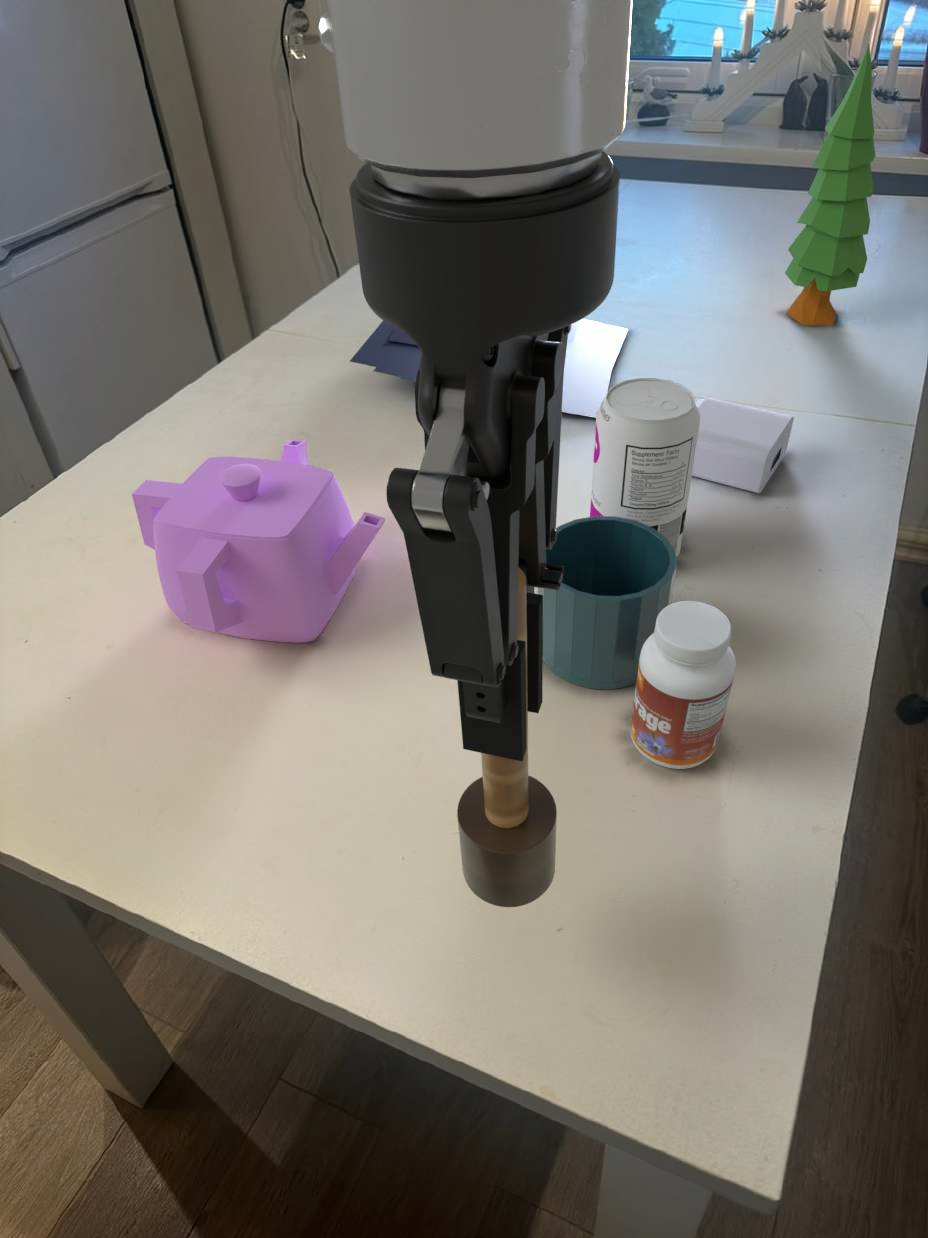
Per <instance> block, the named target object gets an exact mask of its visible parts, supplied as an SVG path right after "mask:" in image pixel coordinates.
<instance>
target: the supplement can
mask: <svg viewBox="0 0 928 1238" xmlns="http://www.w3.org/2000/svg"><path fill="white" fill-rule="evenodd" d="M695 402H696V397H695V396H694V393H693V392H692V390H690V389H689V388H687V387H686V386H684V385H683V384H681V383H678V382H674V381H672V380H670V379H664V378H657V377H635V378H631V379H625V380H622V381H621V382H618V383H616V384H613V385H612V386H611V387H610V388H608V391H607V394H606V397H605V398H604V400H603V401H602V403H601V404H600V406H599V408H598V411H597V415H596V418H595V428H594V430H595V431H594V446H593V459H592V460H593V461H592V478H591V490H590V491H591V492H590V508H589V517H593V516H615V517H620V518H625V519H630V520H635V521H638V522H640V523H642V524H645V525H647V526H650V527H652V528H654V529H655V530H657V531H658V532H659V533H661V534H662V535H663V536H664V537H666V538H667V539H668V541H669V542H670V544H671V545H672V547H673V548H674V550H675V552H676V558H677V557H678V556H679V555H680V554H681V549H682V548H681V547H682V541H683V535H684V529H685V523H686V515H687V510H688V503H689V495H690V489H691V482H692V477H693V476H692V470H693V464H694V457H695V451H696V444H697V438H698V431H699V425H700V416H701V415H700V413H699V411H698V408H697V406H696V404H695Z"/></svg>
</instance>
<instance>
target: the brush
mask: <svg viewBox="0 0 928 1238" xmlns="http://www.w3.org/2000/svg"><path fill="white" fill-rule="evenodd" d="M517 640H521V641H526V736H527V749H526V752H525V755H524V758H523V761H517V760H513V759H508V758H503V757H499V756H494V755H489V754H484V753H480V758H481V770H482V771H481V772H482V773H481V774H482V776H481V777H479V778H477V779H476V780H474V781H473V782H472V783H470V784H469V786H467V788H466V789H465V790H464V791H463V793H462V794H461V796H460V798H459V800H458V804H457V813H456V816H457V825H458V827H457V828H458V835H459V836H458V837H459V846H460V856H461V865H462V873H463V878H464V880H465V883H466V884H467V887H468V888H469V889H470V890H471V892H472V893H473V894H474V895H475V896H477V897H478V898H479V899H480V900H482V901H484V902H486V903H488V904H490V905H492V906H496V907H500V908H517V907H522V906H525V905H528V904H530V903H533V902H535V901H536V900H538V899H539V898H540V897H541V896H544V894H545V893H546V892H547V890H548V889H549V888H550V886H551V885H552V883H553V881H554V877H555V873H556V851H557V850H556V849H557V848H556V847H557V813H558V812H557V811H558V809H557V805H556V800H555V799H554V796H553V795H552V793H551V791H550V790H549V789H548V787H547V786H546V785H545V784H544V783H542V782H541V781H540V780H539V779H537V778H535V777H534V776H531V775H530V774H529V712H528V685H527V580H526V575H525V574H524V572H523V571H522V570H521V569H520V568H519V567H518V616H517Z"/></svg>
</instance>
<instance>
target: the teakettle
mask: <svg viewBox="0 0 928 1238" xmlns="http://www.w3.org/2000/svg"><path fill="white" fill-rule="evenodd" d="M131 498H132V501H133V505H134V509H135V513H136V516H137V521H138V525H139V529H140V533H141V536H142V540H143V544H144V545H145V546H147V547H148V548H150V549H152V550H154V553H155V561H156V566H157V567H156V568H157V573H158V577H159V582H160V586H161V590H162V594H163V596H164V599H165V603H166V604H167V606H168V608H170V610H171V611H172V613H173V614H174V615H175V617H177V619H179V620H180V621H181V622H182V623H183V624H184V623H185V625H188V626H190V629H195V630H200V631H206V632H211V633H216V634H217V633H218V634H221V635H225V636H230V637H235V638H242V639H249V640H257V641H267V642H278V643H296V644H299V643H300V644H301V643H302V644H303V643H310V642H313V641H315V640H316V639H317V638H319V636H320V635H321V633H322V632H323V630H324V629H325V628H326V626H327V625H328V623H329V621H330V620H331V619H332V617H333V615H334V613H335V612H336V610H337V609H338V607H339V605H340V603H341V602H342V600H343V598H344V596H345V595H346V593H347V591H348V589H349V587H350V585H351V583H352V581H353V579H354V577H355V574H356V572H357V568H358V563H359V562H360V561H361V559H362V557H363V556H364V555H365V553H366V552H367V550H368V548H369V547H370V545H371V544H372V542H373V541H374V540H375V538H376V537H377V535H378V533H379V532H380V530H381V528H382V527H383V525H384V524H385V523H386V517H382V516H379V515H376V514H372V513H369V512H365V511H363V512H362V514H361V516H360V517H359V520H358V521H357V522H356V524H355V523H354V518H353V516H352V513H351V511H350V508H349V505H348V503H347V500H346V498H345V496H344V493H343V492H342V489H341V487H340V484H339V482H338V480H337V477H336V476H335V474H334V473H333V471H330V470H328V469H326V468H322V467H318V466H314V465H309V459H308V446H307V440H306V439H295V438H291V439H290V440H288V441H287V442H286V443H284V444H283V450H282V454H281V458H280V460H276V459H268V458H257V457H256V458H255V457H241V456H212V457H208V458H207V459H206V460H205V461H203V463H202V464H200V465H199V466H198V467H197V468H196V469H195V470H194V471H193V472H192V473H191V474H190V475H189V476H188V478H186V480H184V482H183V483H181V482H171V481H161V480H151V479H145V480H144V481H143V482H142V483H141V484H140V485H139V486H138V487H137V488H136V489H135V490H134V491H133V492H132V493H131Z"/></svg>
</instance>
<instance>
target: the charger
mask: <svg viewBox="0 0 928 1238" xmlns="http://www.w3.org/2000/svg"><path fill="white" fill-rule="evenodd" d="M695 404H696V406H697V408H698V411H699V413H700V415H701V416H700V425H699V431H698V438H697V444H696V451H695V457H694V464H693V470H692V477H695V478H699V479H703V480H707V481H711V482H714V483H718V484H722V485H725V486H729V487H733V488H737V489H739V490H745V491H747V492H748V491H749V492H752V493H755V494H761V493H762V491H763V490H764V488H765V487H766V486H767V483H768V482H769V480H770V479H771V477H772V476H773V474H774V473H775V471H776V470H777V468H778V467H779V465H780V463H781V462H782V460H783V458H784V456H785V454H786V451H787V449H788V446H789V441H790V437H791V432H792V428H793V425H794V424H793V423H794V419H795V417H794V416H793V415H788V414H784V413H779V412H775V411H771V410H765V409H762V408H757V407H753V406H748V405H744V404H739V403H735V402H732V401H731V402H730V401H725V400H722V399H717V398H713V397H705V398H702V399H699V400H697V401H696V400H695Z"/></svg>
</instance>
